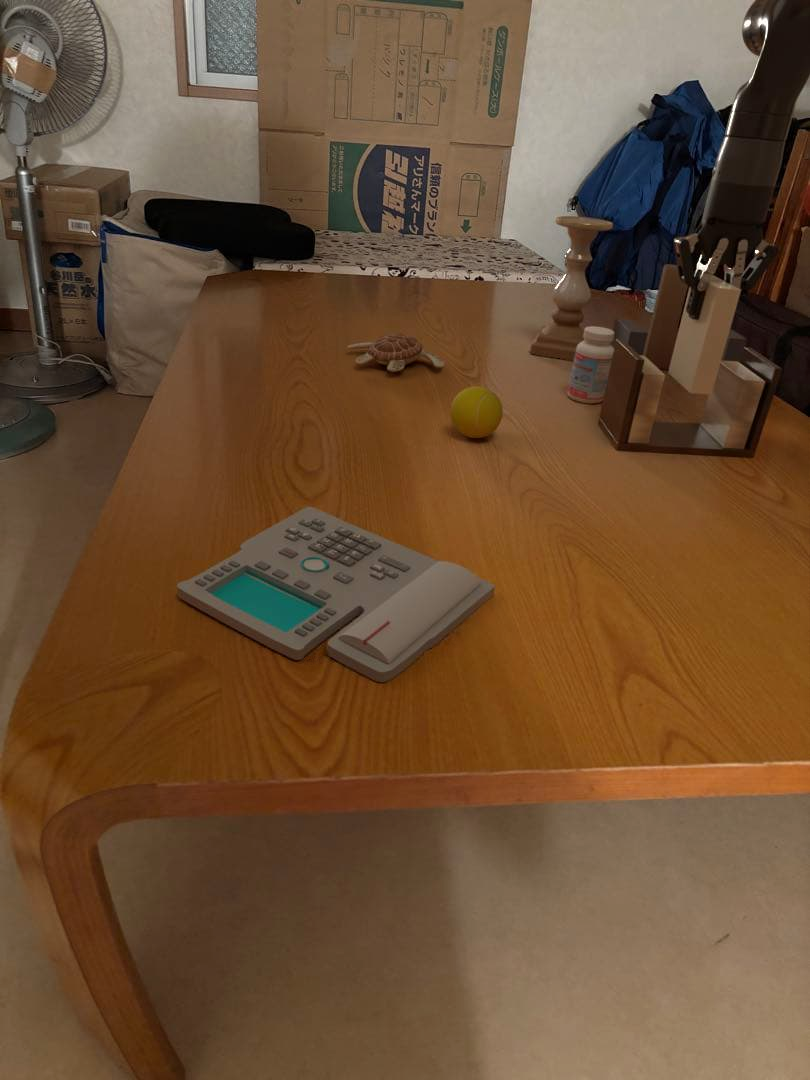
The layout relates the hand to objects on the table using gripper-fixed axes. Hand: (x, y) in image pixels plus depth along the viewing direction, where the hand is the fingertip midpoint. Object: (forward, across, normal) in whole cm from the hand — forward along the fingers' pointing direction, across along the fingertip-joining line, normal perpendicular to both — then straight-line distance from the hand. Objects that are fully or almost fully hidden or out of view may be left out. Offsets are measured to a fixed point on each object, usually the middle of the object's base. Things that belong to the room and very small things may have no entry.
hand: (706, 318), depth 105 cm
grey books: (+18, +8, +26) cm, 33 cm away
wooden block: (+18, +12, +38) cm, 43 cm away
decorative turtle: (+18, -40, +30) cm, 53 cm away
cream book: (+9, 0, 0) cm, 9 cm away
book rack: (+18, 0, 0) cm, 18 cm away
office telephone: (+18, -48, -43) cm, 67 cm away
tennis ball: (+18, -30, -2) cm, 35 cm away
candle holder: (+18, -7, +44) cm, 48 cm away
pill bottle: (+18, -9, +16) cm, 26 cm away
